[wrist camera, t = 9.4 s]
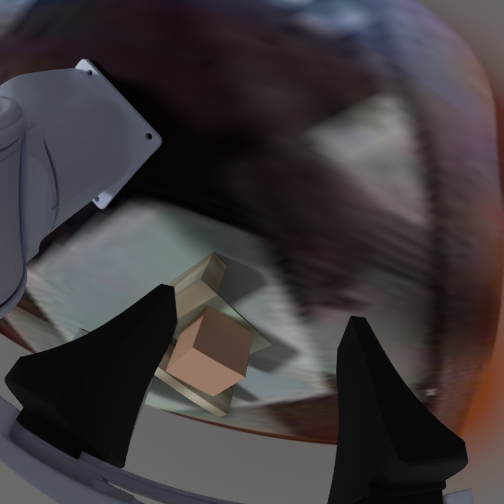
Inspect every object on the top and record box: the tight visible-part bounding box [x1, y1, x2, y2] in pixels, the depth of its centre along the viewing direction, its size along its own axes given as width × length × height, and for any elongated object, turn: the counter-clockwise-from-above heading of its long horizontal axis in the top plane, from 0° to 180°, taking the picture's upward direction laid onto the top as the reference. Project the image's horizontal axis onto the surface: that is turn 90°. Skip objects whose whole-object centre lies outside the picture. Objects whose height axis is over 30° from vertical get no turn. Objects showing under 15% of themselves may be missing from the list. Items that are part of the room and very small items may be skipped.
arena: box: [154, 252, 272, 417], centre depth 27 cm, size 15×13×4 cm
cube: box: [166, 305, 253, 396], centre depth 26 cm, size 5×5×5 cm
